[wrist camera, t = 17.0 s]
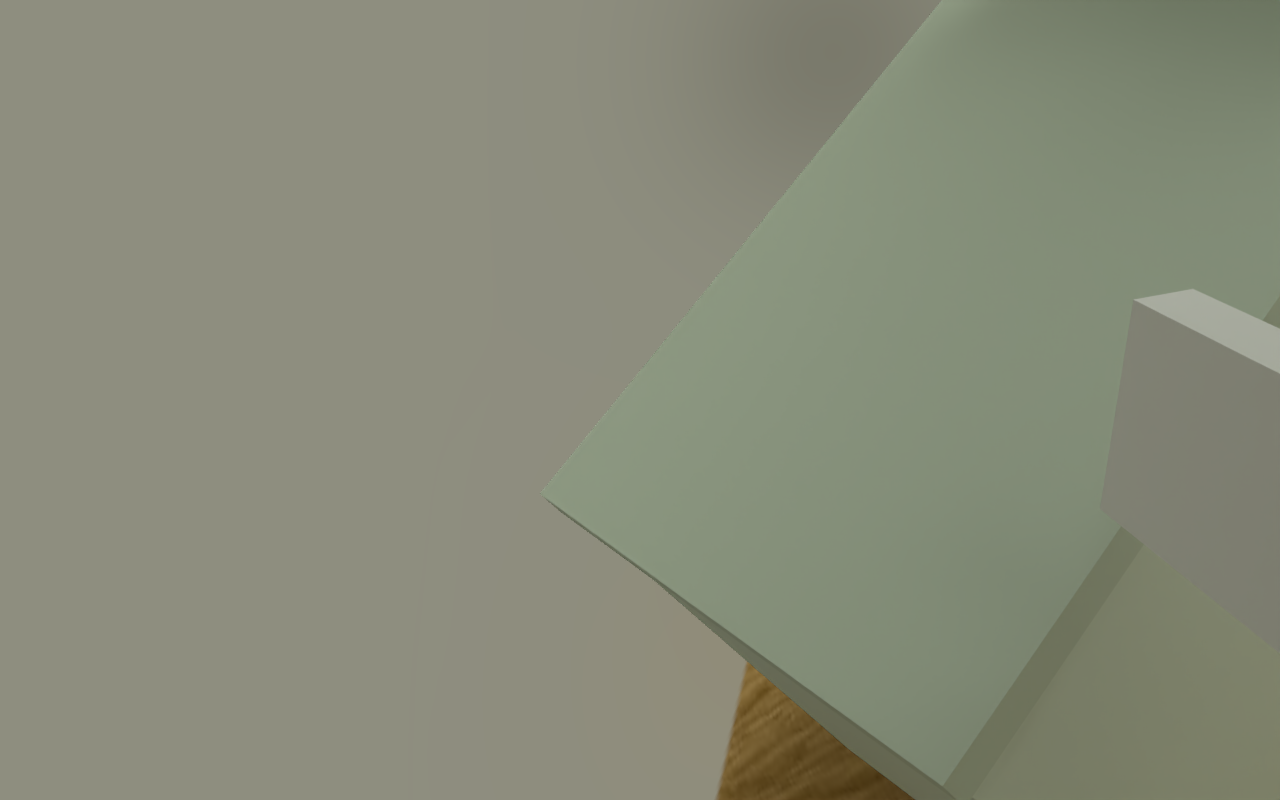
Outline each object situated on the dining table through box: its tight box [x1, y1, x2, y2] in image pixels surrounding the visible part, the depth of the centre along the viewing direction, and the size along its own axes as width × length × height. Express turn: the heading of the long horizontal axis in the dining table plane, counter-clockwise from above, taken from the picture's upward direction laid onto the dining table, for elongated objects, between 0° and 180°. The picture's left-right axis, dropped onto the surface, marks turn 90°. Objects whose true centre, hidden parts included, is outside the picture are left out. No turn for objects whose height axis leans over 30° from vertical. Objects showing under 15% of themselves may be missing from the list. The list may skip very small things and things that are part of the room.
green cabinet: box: [540, 0, 1280, 800], centre depth 26 cm, size 19×14×29 cm
